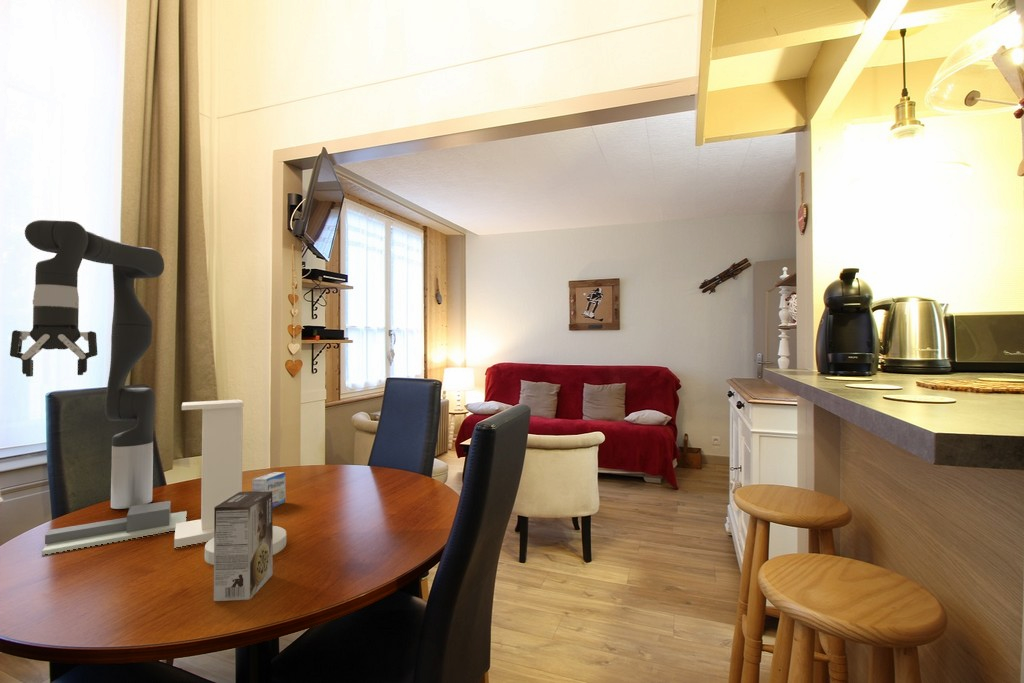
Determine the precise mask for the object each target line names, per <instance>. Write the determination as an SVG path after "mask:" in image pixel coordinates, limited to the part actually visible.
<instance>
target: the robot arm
mask: <svg viewBox="0 0 1024 683" xmlns="http://www.w3.org/2000/svg"><path fill="white" fill-rule="evenodd" d="M24 237H25V239H26V240H27V242H28V243H29V244H30V245H31V246H33V248H35V249H37V250H40V251H43V252H47V253H52V254H53V253H54V254H55V256H54V257H52V258H47V259H44V260H39V261H38V262H37V263H36V265H35V275H34V276H35V278H34V283H35V284H34V286H35V287H34V291H33V298H32V305H33V306H32V308H33V310H32V328H31V331H27V330H26V331H25V330H24V331H23V330H19V329H18V330H17V329H16V330H13V331H12V333H11V340H10V350H9V356H10V357H12V358H16V359H19V360H21V364H22V366H21V372H22V374H23V375H25V376H26V377H27V378H28V377H34V360H33V359H32V358H34V356H36V355H37V354H38V353H40V352H41V351H42V350H68V349H69V350H70V351H71V352H72V353H74V355H76V356H77V357H78V359H77V373H76V374H77V376H83V375H84V374H85V373H87V371H88V360H89V359H90V358H93V357H96V356H97V355H98V342H97V341H98V339H97V333H96V331H92V330H89V331H84V332H83V331H80V329H79V314H80V313H79V312H80V311H79V309H80V308H79V307H80V306H79V305H80V304H79V302H80V300H79V298H80V296H79V291H78V282H79V281H78V277H79V275H78V274H79V268H80V266H81V263H82V260H86V261H89V262H93V263H98V264H105V265H112V282H113V284H112V285H113V311H112V323H111V333H110V334H111V336H110V337H111V338H110V340H111V341H110V342H111V343H110V346H111V347H110V348H111V349H110V364H109V371H108V372H109V374H108V380H107V384H106V385H107V387H106V394H105V401H104V412H105V413H104V414H105V416H106V419H107V420H109V421H111V422H120V421H121V422H122V421H137V424H136V425H135V426H134V427H132V428H130V429H128V430H125V431H122V432H120V433H116V434H115V435H113V436H112V437H111V473H110V474H111V476H110V480H111V481H110V508H111V509H115V510H122V509H123V510H125V509H130V507H131V506H138V505H145V504H151V502H153V487H154V486H153V485H154V484H153V481H154V480H153V477H154V475H153V473H154V470H153V469H154V468H153V467H154V432H155V428H154V427H155V413H156V412H155V411H156V393H155V391H154V390H153V389H152V388H150V387H126V388H125V386H126V383H127V380H128V377H129V374H130V372H131V371H132V369H133V368H134V366H136V364H137V363H138V362H139V361H140V360H141V358H143V356H144V355H145V354H146V353H147V351H148V350H149V348H150V347H151V345H152V342H153V321H152V318H151V317H150V314H149V313H148V311H147V310H146V309H145V307H144V305H142V303H141V302H140V300H139V298H138V296H137V294H136V289H135V288H136V287H135V280H136V279H154V278H156V279H157V278H158V277H160V276H161V275H162V274H163V273H164V271H165V260H164V258H163V256H162V254H161V253H160V252H159V251H158V250H156V249H154V248H152V247H151V248H150V247H144V246H143V247H140V246H135V245H131V244H128V243H124V242H120V241H116V240H113V239H110V238H108V237H105V236H102V235H100V234H97V233H94V232H91V231H88V230H86V229H85V227H84V226H83V225H82V224H80V223H79V222H77V221H72V220H56V219H55V220H54V219H51V220H50V219H36V220H33V221H31V222H29V223H28V224H27V225H26V226H25V229H24ZM28 337H30V338H31V339H32V340H33V341H34V344H32V345H31V346H30V347H29V348H28V350H26V351H25V352H22V348H23V341H26V340H27V339H28ZM81 337H82V338H83V340H84V341H86V342H87V346H88V352H85V351H84V350H82V348H81V347H80V345H78V344H77V343H76V342H77V341H79V340H80V338H81Z"/></svg>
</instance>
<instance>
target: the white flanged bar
mask: <svg viewBox="0 0 1024 683" xmlns="http://www.w3.org/2000/svg"><path fill="white" fill-rule="evenodd" d="M243 407H244V401H243V400H241V399H237V398H236V399H222V400H221V399H220V400H204V401H202V400H201V401H186V402H185V401H184V402H182V404H181V411H189V410H190V411H191V410H193V411H194V410H202V411H201V412H202V414H201V416H202V417H201V418H202V420H201V423H202V426H201V429H202V430H201V439H202V440H201V497H200V498H201V499H200V500H201V503H200V504H201V506H200V507H201V509H200V511H201V512H200V514H201V515H200V516H201V517H200V519H195V520H190V521H189V520H188V521H187V520H186V522H182V523H176V528H175V532H174V539H173V542H174V543H173V546H174V547H173V549H174V548H176V547H181V548H183V547H182V546H186V545H191V544H196V545H198V544H197V543H201V544H203V543H202V542H206V543H207V541H209V540H211V539H212V538H214V507H216V506H217V505H219V504H221V503H222V502H224V501H226V500H227V499H229V498H230V497H232V496H234V495H235V494H237V493H239V492H243V425H244V424H243V422H244V421H243V420H244V419H243V415H244V414H243V410H244V408H243ZM191 546H192V545H191ZM186 547H187V546H186ZM176 549H177V548H176Z"/></svg>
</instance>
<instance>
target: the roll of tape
mask: <svg viewBox="0 0 1024 683" xmlns="http://www.w3.org/2000/svg"><path fill="white" fill-rule="evenodd" d="M286 545H287V530H286V529H284V528H283V527H280V526H277V525H273V555H276V554H278V553H279V552H281V551H282V550H284V548H286ZM204 561H205V563H207V564H209V565H212V566H214V538H212V539H211V540H209V541H208V542H206V543H205V545H204Z"/></svg>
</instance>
